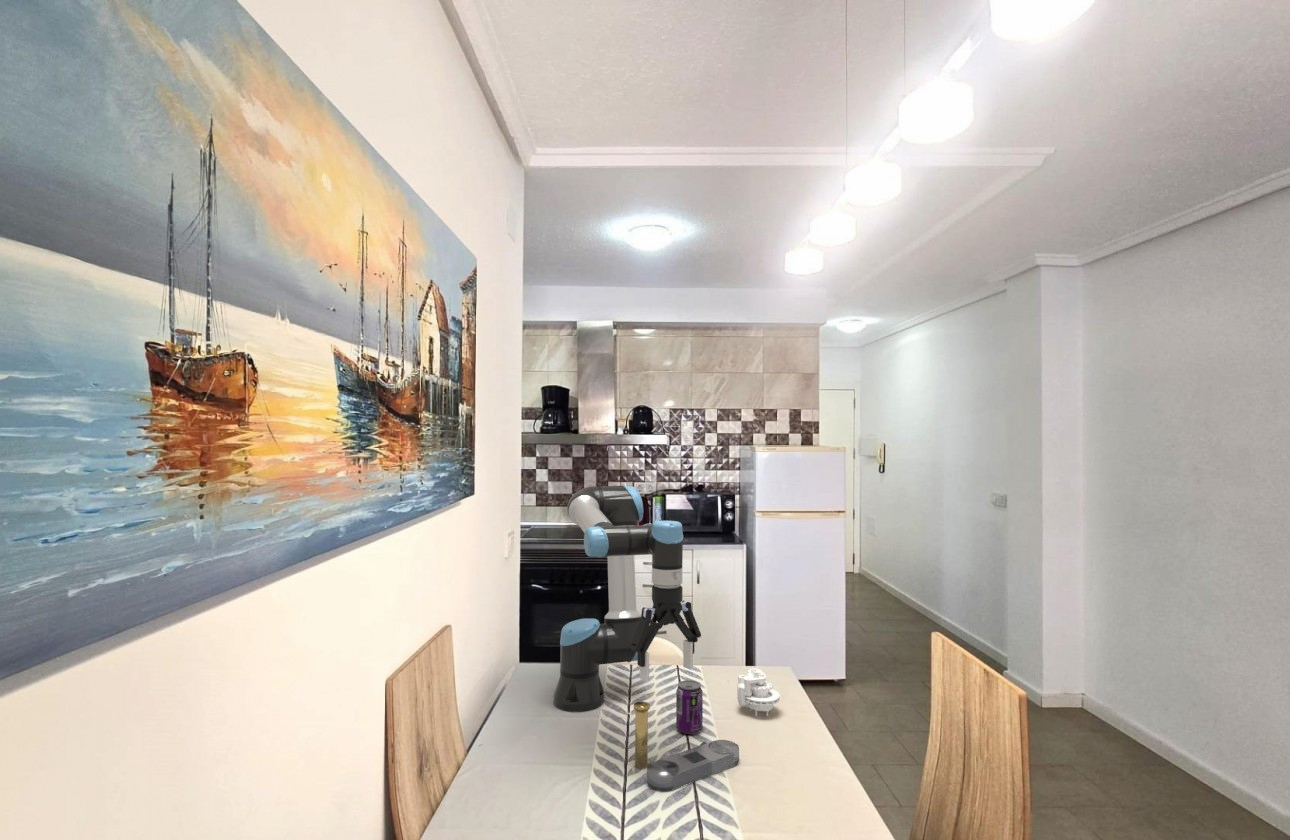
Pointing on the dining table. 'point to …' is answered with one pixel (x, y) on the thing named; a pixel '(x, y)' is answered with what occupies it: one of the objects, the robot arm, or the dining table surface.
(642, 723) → the pin
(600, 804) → the dining table surface
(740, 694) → the mechanical part
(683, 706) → the beverage can
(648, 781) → the slotted metal plate
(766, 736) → the dining table surface
